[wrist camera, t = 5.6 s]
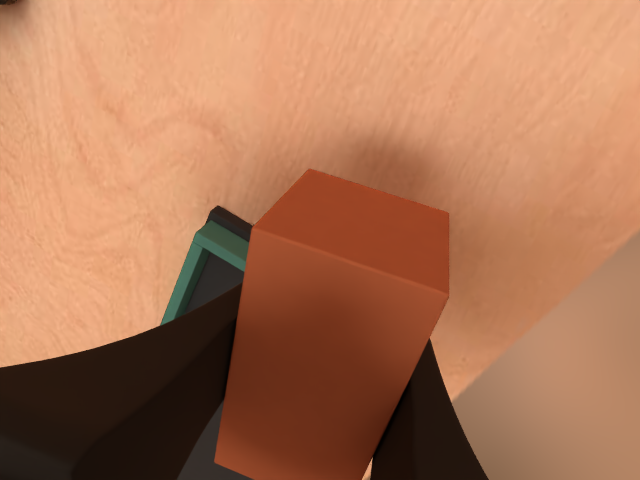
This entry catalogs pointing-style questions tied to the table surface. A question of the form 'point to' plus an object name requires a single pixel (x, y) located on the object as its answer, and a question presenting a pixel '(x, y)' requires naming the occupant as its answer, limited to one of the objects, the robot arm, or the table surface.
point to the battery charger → (7, 2)
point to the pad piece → (329, 328)
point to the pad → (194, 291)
